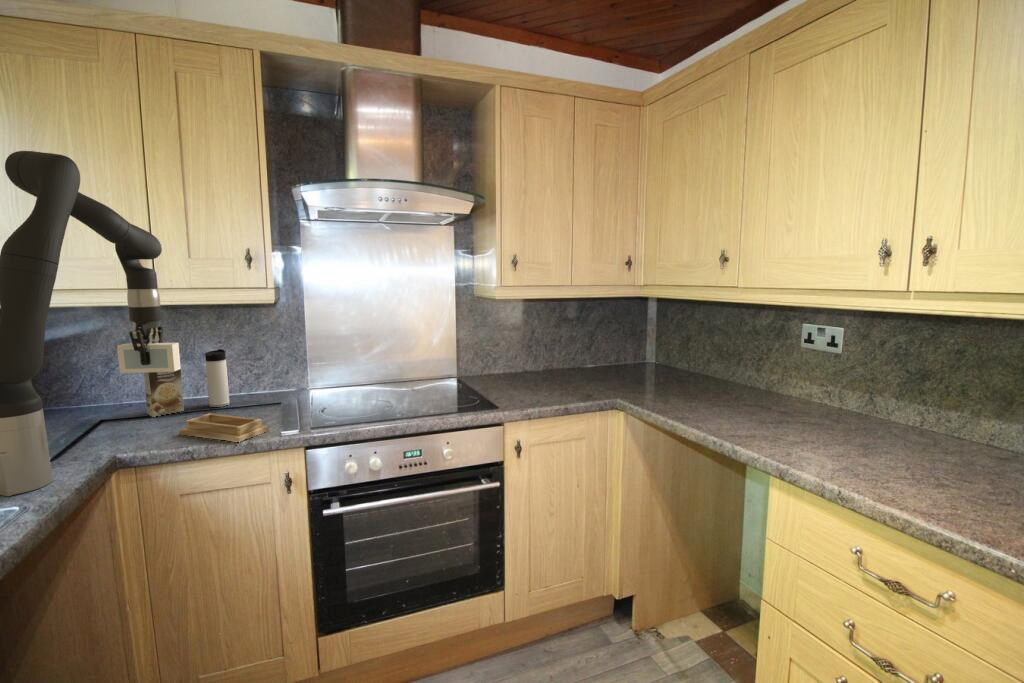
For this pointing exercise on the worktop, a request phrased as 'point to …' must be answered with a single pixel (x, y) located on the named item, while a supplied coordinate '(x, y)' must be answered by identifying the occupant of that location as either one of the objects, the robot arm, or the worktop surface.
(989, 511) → the worktop surface
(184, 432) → the wooden tray
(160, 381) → the coffee box
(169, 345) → the cream rectangular block
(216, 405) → the travel mug
